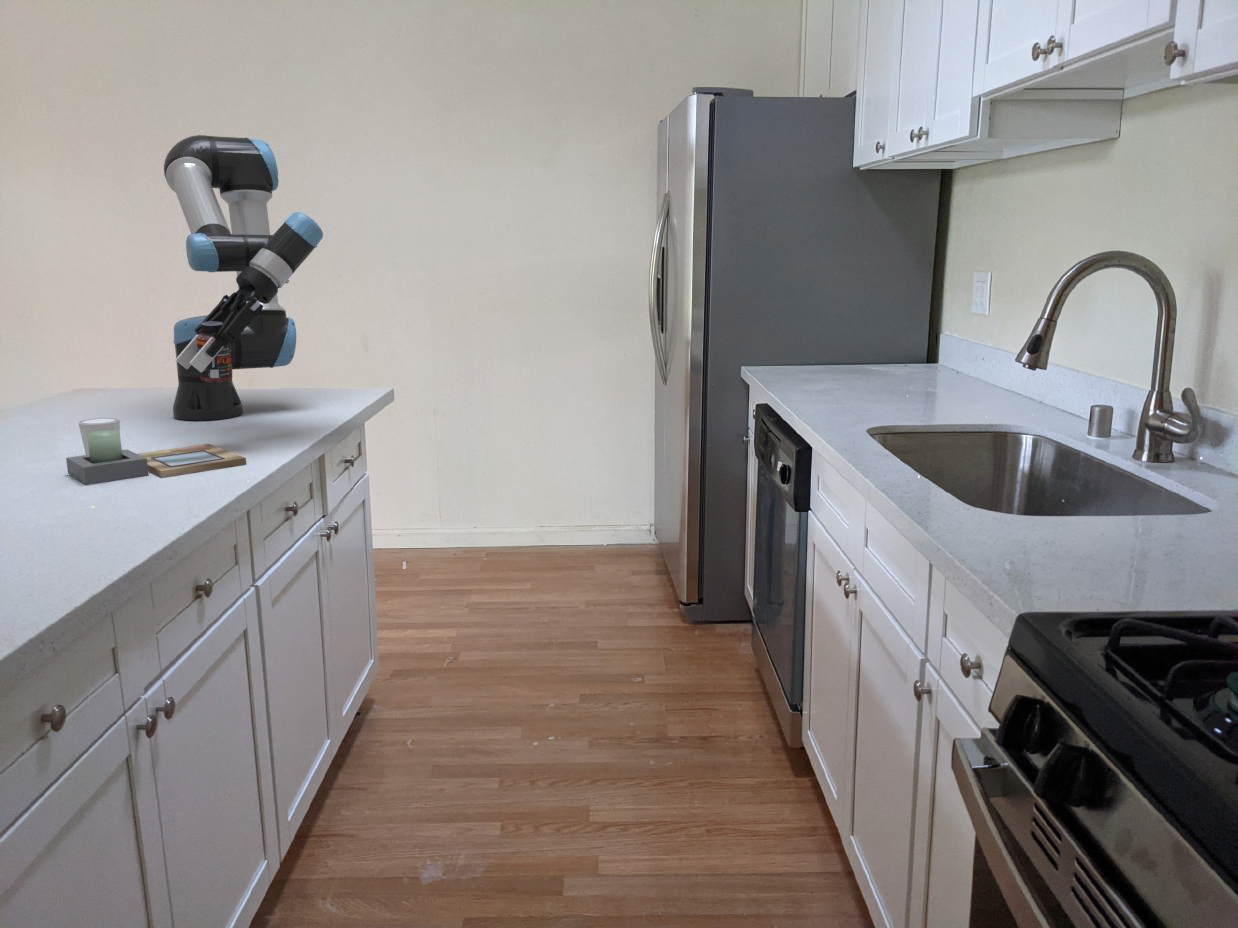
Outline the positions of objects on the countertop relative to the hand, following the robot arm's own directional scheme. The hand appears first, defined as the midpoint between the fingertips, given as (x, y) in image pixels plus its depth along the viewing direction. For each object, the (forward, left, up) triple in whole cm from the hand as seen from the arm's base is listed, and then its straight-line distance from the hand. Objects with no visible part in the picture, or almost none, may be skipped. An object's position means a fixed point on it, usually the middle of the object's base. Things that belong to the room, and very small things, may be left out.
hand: (188, 366), depth 177 cm
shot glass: (-8, -14, -17) cm, 24 cm away
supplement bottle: (-1, +5, -3) cm, 7 cm away
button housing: (+8, -18, -17) cm, 26 cm away
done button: (+8, -18, -14) cm, 25 cm away
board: (+8, -5, -17) cm, 19 cm away
